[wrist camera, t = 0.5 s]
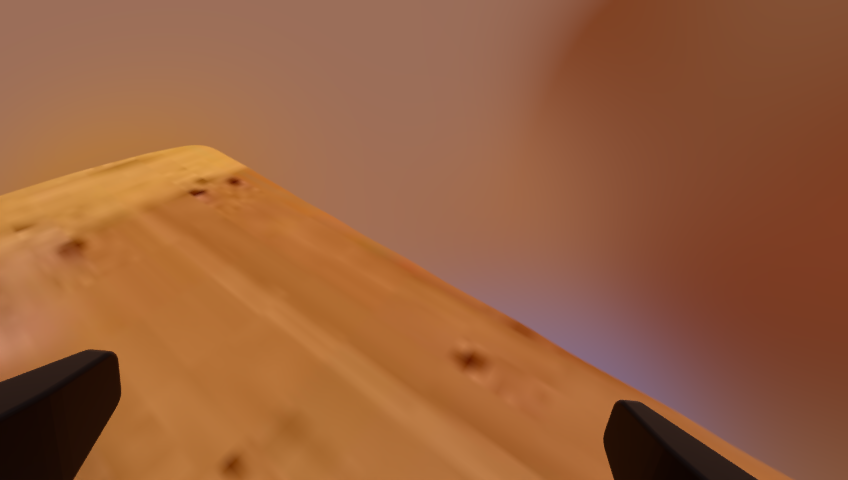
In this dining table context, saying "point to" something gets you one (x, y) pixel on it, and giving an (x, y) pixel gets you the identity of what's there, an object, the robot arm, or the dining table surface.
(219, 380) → the dining table surface
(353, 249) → the dining table surface
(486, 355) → the dining table surface
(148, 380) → the dining table surface
